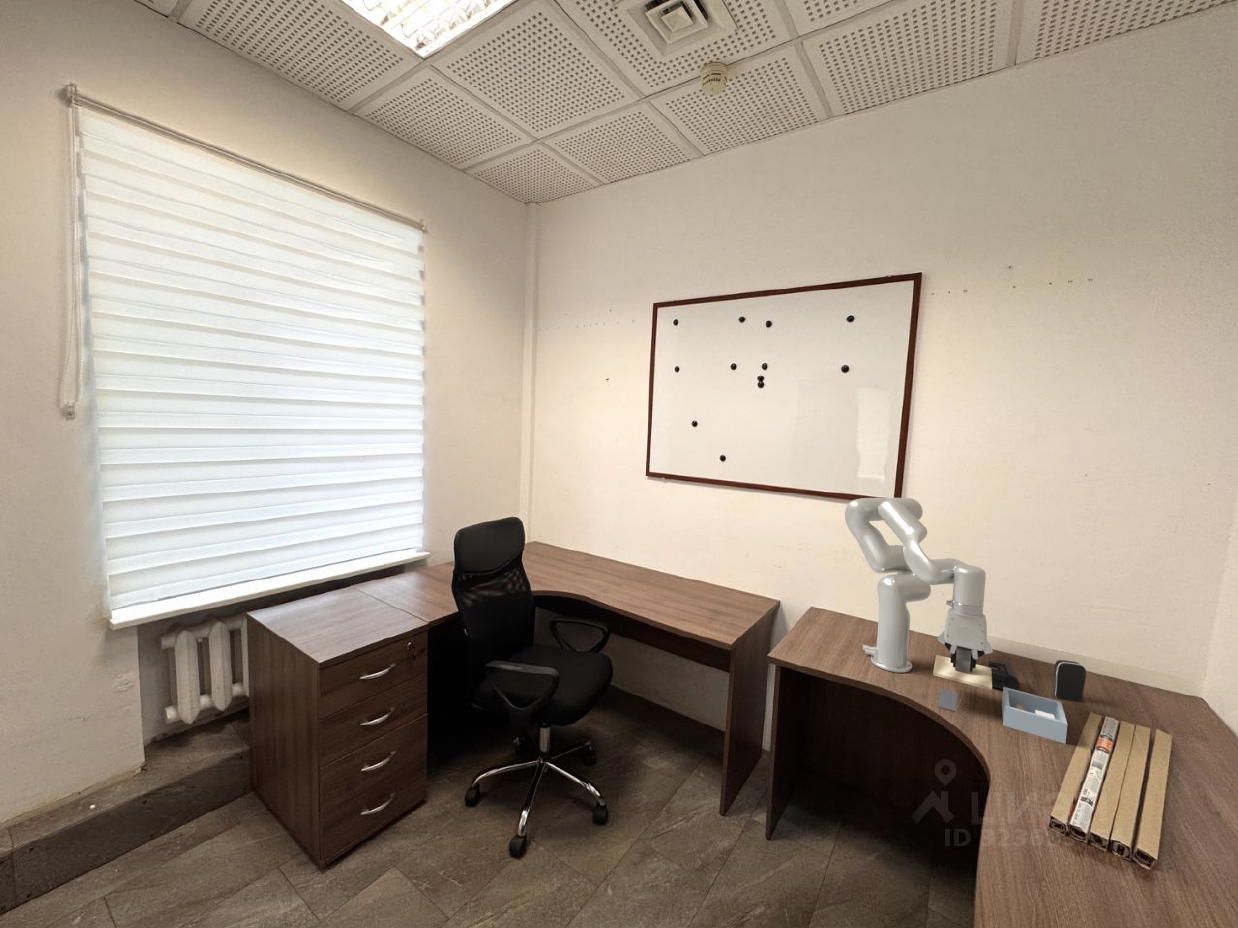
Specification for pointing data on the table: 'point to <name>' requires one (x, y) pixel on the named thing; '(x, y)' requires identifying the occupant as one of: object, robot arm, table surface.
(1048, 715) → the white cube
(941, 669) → the lid
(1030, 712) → the box
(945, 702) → the mat
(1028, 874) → the table surface
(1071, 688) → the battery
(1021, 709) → the cork ball
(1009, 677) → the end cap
